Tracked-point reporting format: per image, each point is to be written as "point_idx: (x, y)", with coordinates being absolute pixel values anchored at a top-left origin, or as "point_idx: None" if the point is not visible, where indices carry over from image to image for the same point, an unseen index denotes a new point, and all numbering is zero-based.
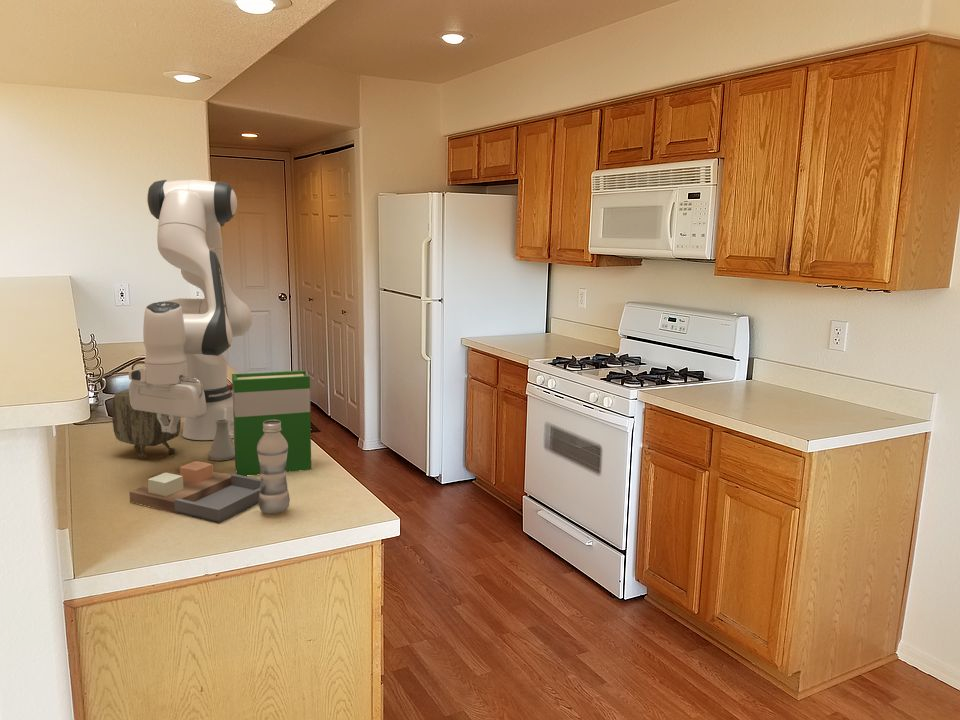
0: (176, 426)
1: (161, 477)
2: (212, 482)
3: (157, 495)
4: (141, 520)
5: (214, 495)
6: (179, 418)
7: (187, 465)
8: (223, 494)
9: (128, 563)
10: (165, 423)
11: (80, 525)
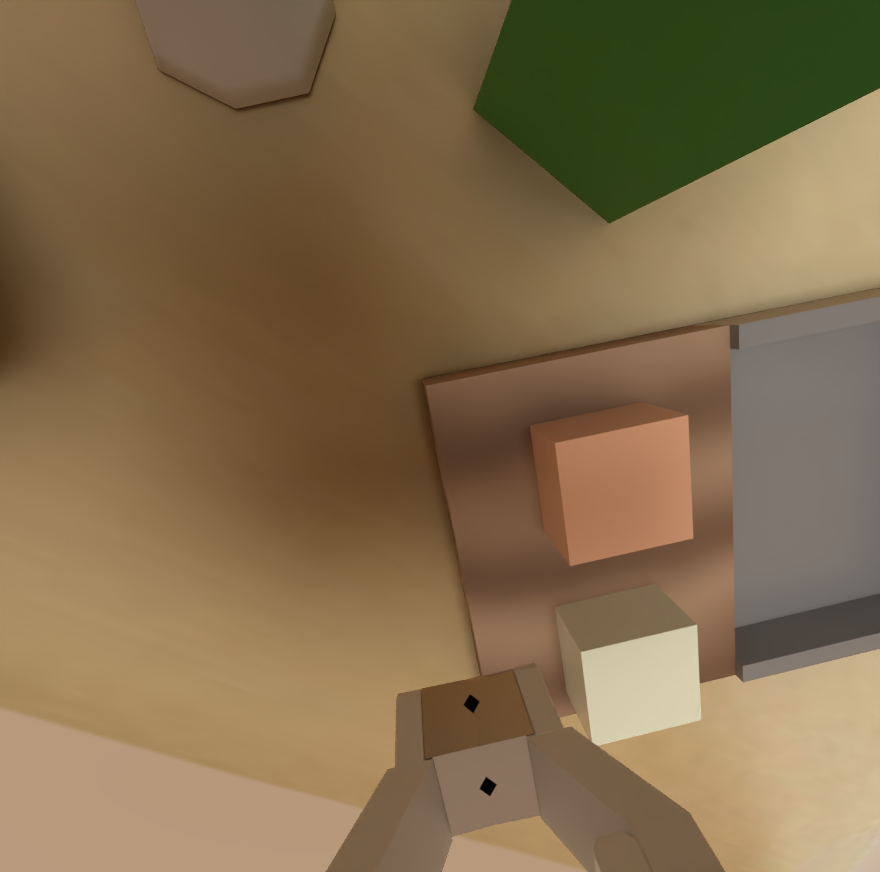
0: (555, 712)
1: (625, 697)
2: (705, 456)
3: None
4: (655, 732)
5: None
6: (688, 826)
7: (584, 523)
8: (751, 444)
9: (844, 851)
10: (440, 824)
11: (532, 853)
